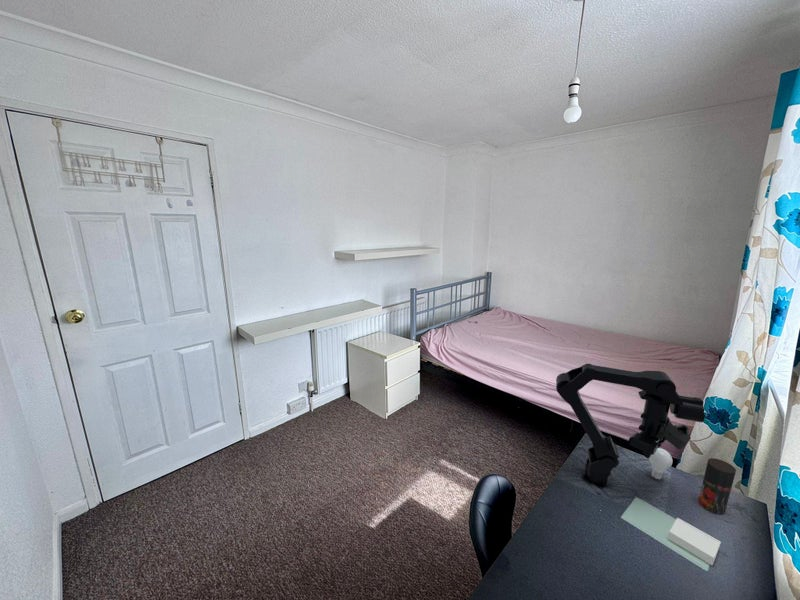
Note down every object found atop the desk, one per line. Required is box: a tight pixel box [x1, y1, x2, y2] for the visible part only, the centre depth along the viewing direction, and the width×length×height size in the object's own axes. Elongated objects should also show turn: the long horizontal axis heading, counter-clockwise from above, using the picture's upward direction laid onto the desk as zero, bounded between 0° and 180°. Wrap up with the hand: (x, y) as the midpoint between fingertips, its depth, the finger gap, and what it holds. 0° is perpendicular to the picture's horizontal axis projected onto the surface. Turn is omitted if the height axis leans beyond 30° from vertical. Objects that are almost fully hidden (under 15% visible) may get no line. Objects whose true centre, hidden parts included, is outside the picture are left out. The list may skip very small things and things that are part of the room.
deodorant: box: [697, 457, 737, 516], centre depth 96 cm, size 6×6×15 cm
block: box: [668, 517, 722, 566], centre depth 86 cm, size 3×7×9 cm
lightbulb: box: [648, 447, 673, 480], centre depth 109 cm, size 6×6×11 cm
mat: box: [620, 496, 711, 572], centre depth 91 cm, size 19×12×1 cm, turn 37°
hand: (647, 457), depth 101 cm, fingers closed
